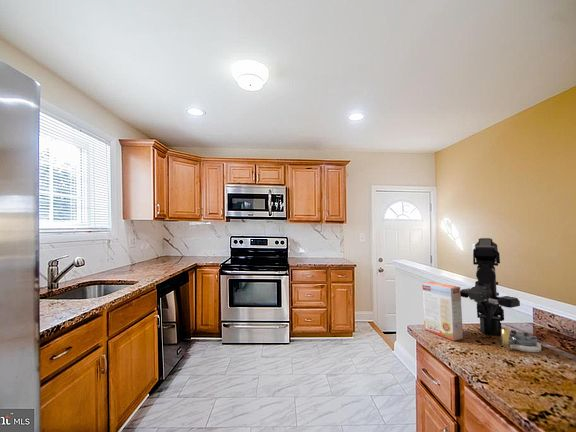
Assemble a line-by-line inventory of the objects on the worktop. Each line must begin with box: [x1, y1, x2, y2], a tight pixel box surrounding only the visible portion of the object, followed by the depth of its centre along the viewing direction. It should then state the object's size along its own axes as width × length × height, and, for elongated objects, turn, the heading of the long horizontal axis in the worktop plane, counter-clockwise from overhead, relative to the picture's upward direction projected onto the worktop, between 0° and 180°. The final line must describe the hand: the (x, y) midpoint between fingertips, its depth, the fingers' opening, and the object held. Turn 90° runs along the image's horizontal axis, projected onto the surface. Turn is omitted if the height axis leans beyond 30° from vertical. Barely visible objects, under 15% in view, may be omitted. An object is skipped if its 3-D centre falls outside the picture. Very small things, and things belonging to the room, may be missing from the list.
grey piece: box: [501, 327, 538, 348], centre depth 101 cm, size 15×9×6 cm, turn 112°
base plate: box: [509, 341, 542, 353], centre depth 102 cm, size 11×11×2 cm
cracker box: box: [422, 281, 464, 342], centre depth 115 cm, size 14×6×21 cm, turn 22°
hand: (488, 319), depth 104 cm, fingers closed
